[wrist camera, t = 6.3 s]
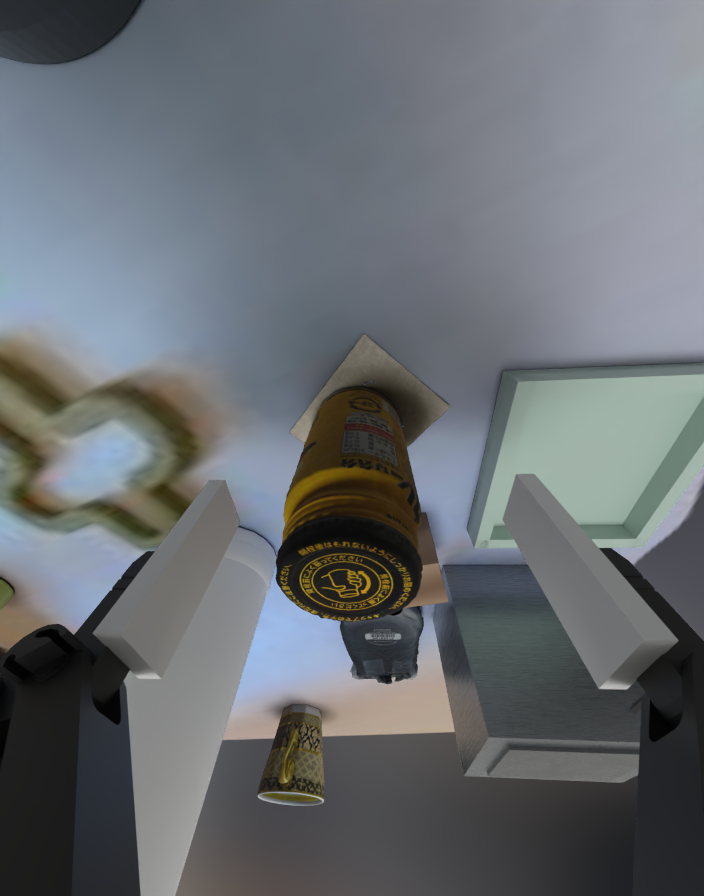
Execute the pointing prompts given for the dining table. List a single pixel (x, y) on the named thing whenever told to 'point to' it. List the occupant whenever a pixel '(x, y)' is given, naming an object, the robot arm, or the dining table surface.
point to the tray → (594, 447)
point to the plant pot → (5, 593)
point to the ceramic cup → (295, 760)
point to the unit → (526, 685)
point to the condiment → (357, 492)
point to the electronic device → (384, 646)
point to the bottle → (192, 711)
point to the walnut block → (428, 569)
